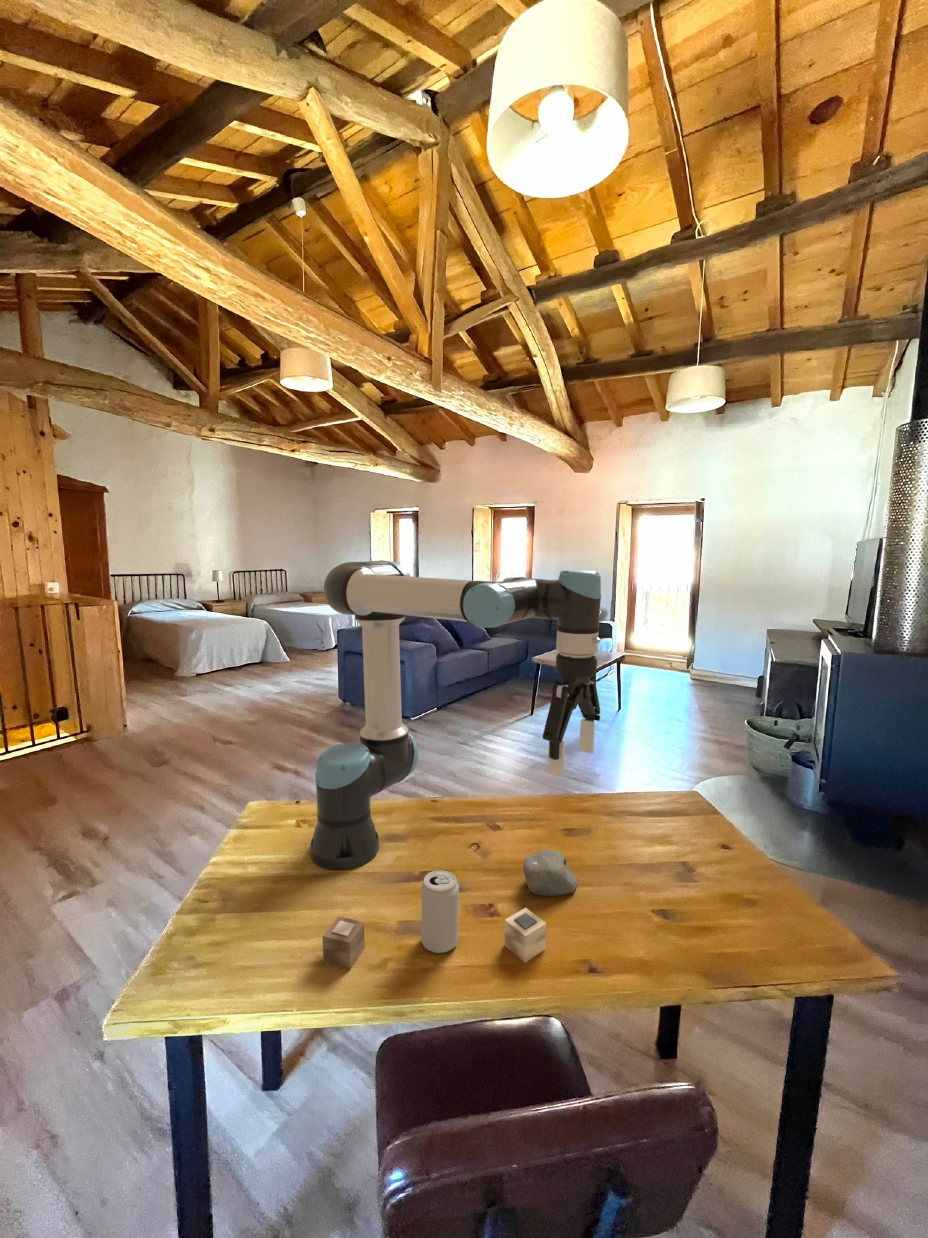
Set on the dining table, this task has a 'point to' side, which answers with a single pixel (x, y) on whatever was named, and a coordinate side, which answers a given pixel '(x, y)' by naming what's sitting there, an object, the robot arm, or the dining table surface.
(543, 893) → the stone
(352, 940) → the walnut block
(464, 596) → the robot arm
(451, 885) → the beverage can
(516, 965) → the dining table surface
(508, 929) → the beech block
